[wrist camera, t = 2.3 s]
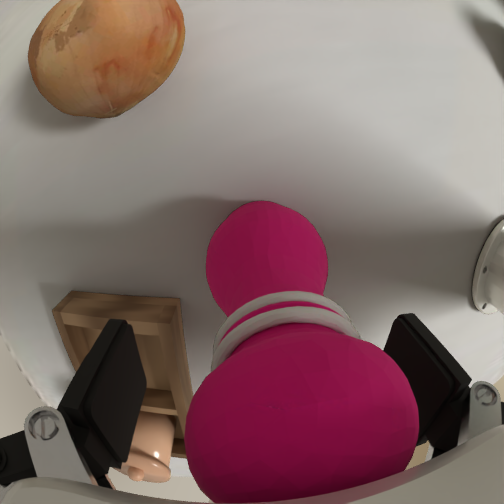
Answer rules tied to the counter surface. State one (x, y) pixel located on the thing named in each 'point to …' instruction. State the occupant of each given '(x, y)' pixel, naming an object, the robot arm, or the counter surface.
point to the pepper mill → (290, 374)
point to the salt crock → (151, 448)
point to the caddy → (148, 342)
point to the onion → (105, 53)
